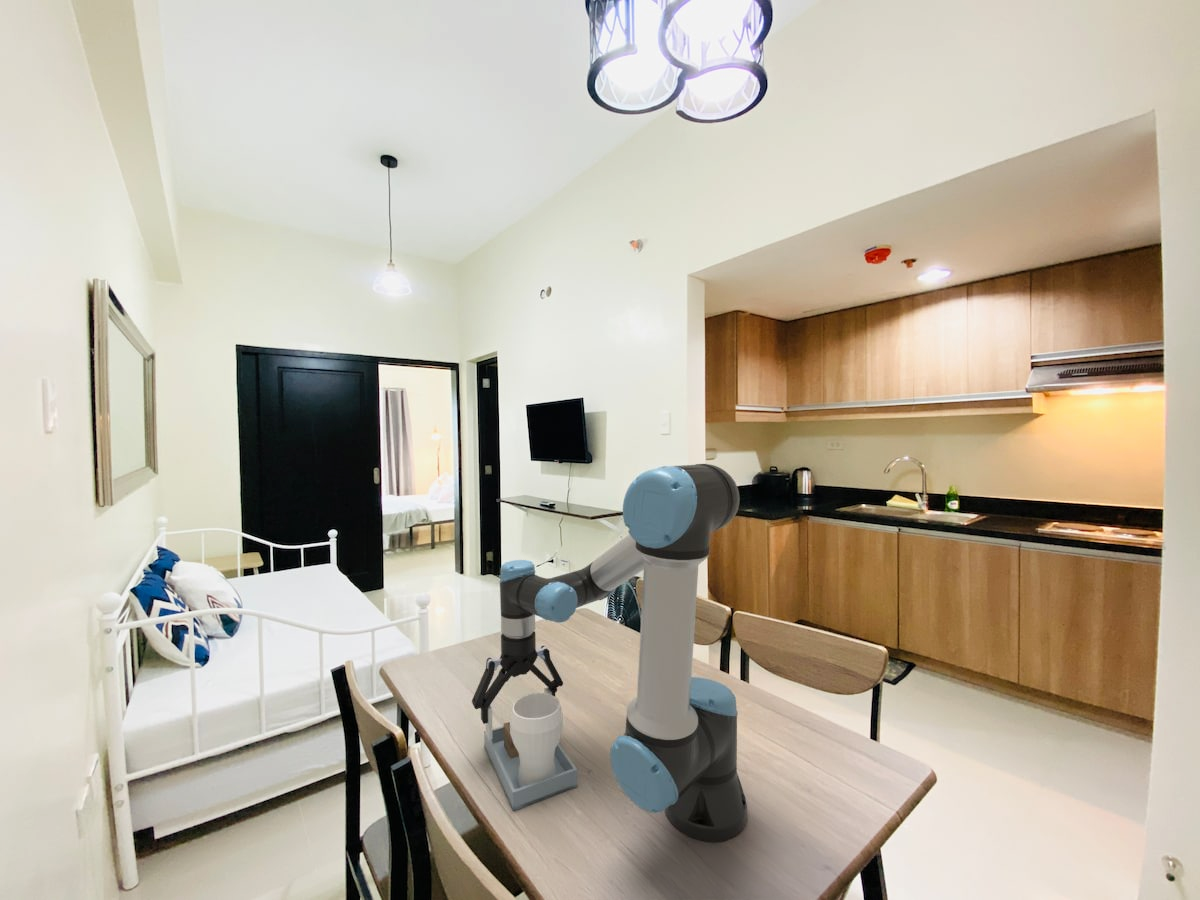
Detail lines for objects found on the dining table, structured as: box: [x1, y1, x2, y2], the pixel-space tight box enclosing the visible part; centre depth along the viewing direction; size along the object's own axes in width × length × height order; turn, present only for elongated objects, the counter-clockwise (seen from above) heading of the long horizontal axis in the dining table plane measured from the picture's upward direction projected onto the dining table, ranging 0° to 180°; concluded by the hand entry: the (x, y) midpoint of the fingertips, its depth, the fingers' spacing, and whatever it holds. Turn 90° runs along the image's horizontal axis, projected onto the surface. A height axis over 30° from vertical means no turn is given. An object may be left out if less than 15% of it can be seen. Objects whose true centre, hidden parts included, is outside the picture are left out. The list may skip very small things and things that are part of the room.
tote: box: [483, 725, 579, 812], centre depth 101 cm, size 21×13×4 cm, turn 28°
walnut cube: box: [503, 721, 519, 759], centre depth 106 cm, size 5×5×5 cm
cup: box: [509, 692, 564, 787], centre depth 96 cm, size 11×11×15 cm
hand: (519, 727), depth 106 cm, fingers open, 13 cm apart
